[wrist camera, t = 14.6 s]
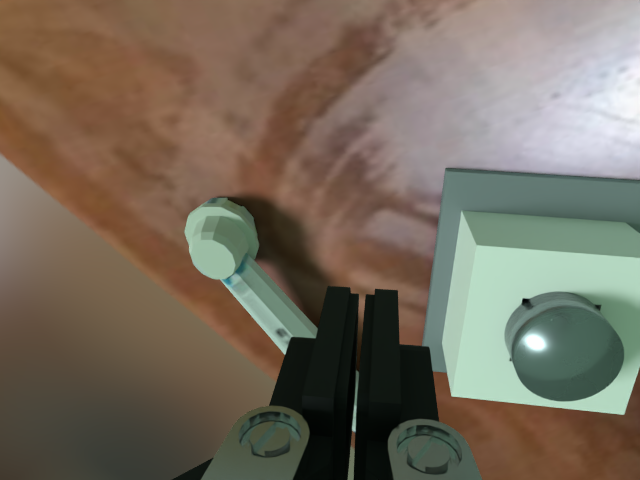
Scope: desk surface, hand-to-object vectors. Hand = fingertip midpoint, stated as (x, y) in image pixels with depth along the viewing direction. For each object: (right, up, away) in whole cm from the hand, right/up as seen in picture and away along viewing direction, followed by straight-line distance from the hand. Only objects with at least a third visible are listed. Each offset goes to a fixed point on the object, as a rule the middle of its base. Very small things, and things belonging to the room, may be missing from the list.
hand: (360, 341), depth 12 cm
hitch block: (+16, -1, +29) cm, 33 cm away
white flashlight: (-3, -4, +33) cm, 34 cm away
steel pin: (+16, -2, +27) cm, 32 cm away
